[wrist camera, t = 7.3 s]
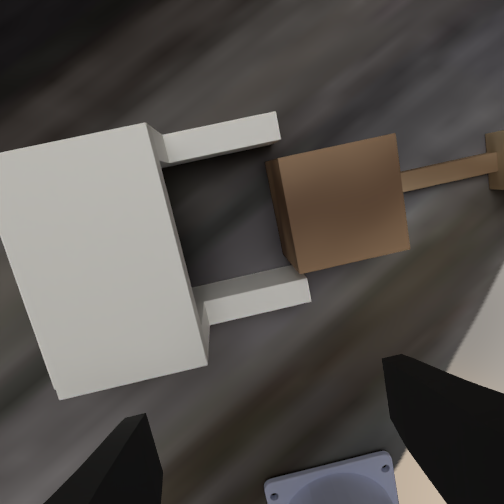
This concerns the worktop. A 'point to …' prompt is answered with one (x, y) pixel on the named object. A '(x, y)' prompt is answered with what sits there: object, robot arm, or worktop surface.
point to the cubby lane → (122, 254)
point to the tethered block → (358, 198)
